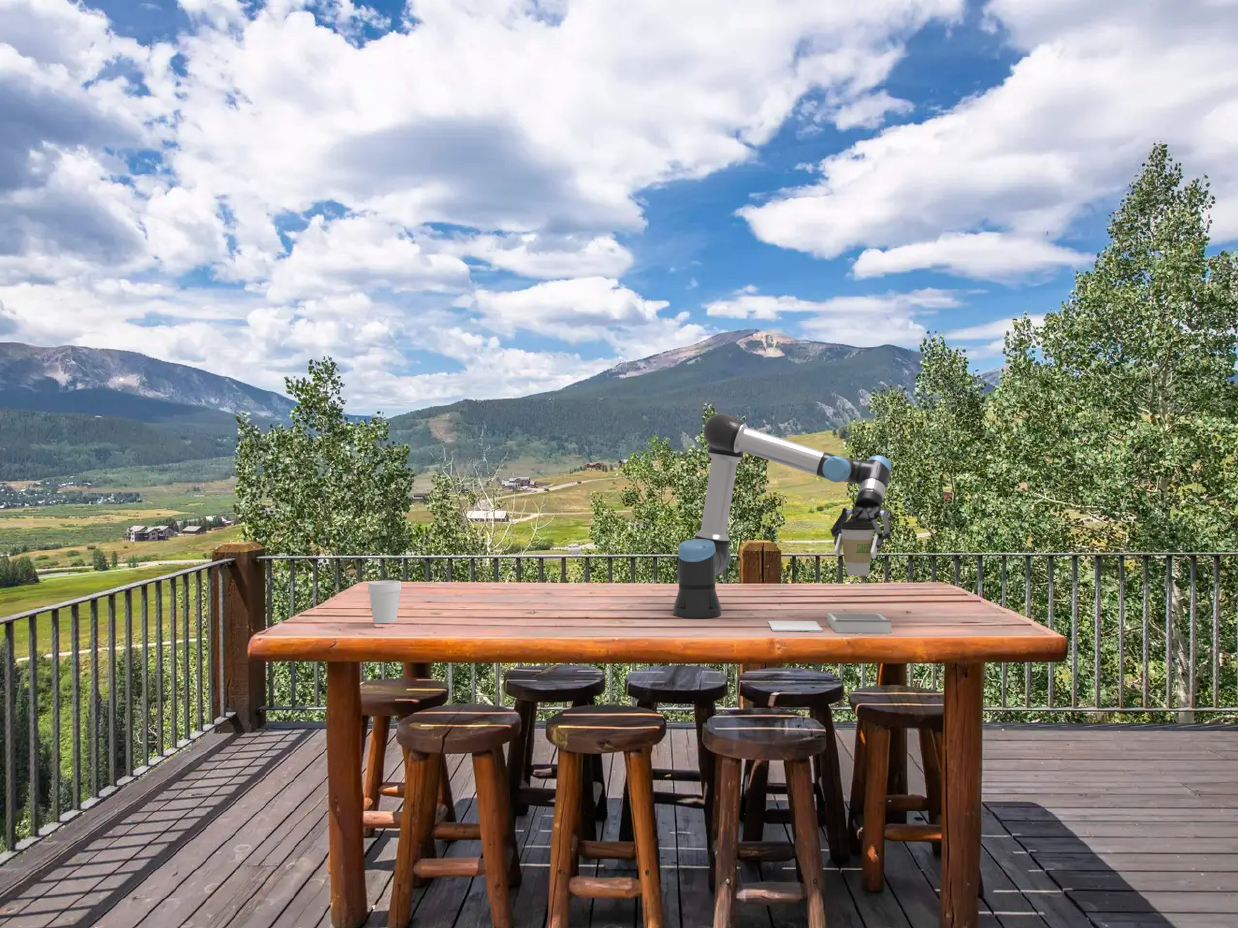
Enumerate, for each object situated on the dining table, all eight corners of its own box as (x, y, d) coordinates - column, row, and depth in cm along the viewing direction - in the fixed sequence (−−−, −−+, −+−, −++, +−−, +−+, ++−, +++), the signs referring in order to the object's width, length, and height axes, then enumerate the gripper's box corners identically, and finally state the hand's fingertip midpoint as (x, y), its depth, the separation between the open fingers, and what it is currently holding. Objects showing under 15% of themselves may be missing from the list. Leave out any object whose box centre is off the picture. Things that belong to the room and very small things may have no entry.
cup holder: (836, 632, 226) (836, 619, 226) (827, 622, 241) (827, 610, 241) (891, 633, 225) (891, 620, 225) (878, 623, 240) (878, 611, 240)
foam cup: (374, 630, 235) (374, 585, 236) (363, 625, 243) (363, 582, 243) (406, 626, 241) (406, 582, 241) (394, 622, 248) (394, 579, 249)
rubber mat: (772, 631, 228) (772, 629, 229) (768, 622, 242) (768, 620, 242) (823, 632, 227) (823, 629, 227) (815, 623, 241) (815, 621, 241)
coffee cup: (877, 576, 228) (877, 523, 228) (841, 576, 230) (840, 523, 230) (873, 572, 237) (873, 521, 238) (839, 572, 239) (838, 521, 240)
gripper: (910, 507, 240) (896, 565, 227) (836, 505, 253) (819, 560, 239) (906, 489, 236) (891, 547, 223) (831, 488, 248) (813, 544, 235)
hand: (854, 554), depth 231 cm, fingers closed on coffee cup, 10 cm apart
